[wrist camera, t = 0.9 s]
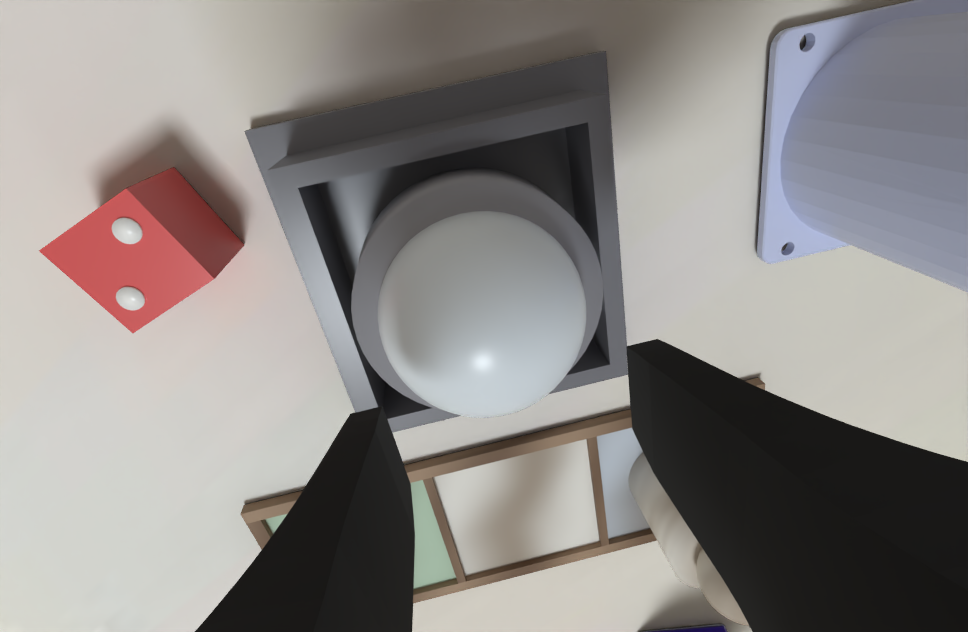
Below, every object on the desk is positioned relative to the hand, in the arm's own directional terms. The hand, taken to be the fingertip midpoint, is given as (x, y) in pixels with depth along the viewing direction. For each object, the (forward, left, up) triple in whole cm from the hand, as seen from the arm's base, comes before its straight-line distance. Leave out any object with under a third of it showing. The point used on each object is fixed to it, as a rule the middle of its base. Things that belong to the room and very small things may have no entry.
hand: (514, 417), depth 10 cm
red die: (+9, -3, -9) cm, 13 cm away
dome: (0, 0, -7) cm, 7 cm away
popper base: (0, 0, -9) cm, 9 cm away
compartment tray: (0, +13, -9) cm, 16 cm away
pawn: (-7, +13, -9) cm, 18 cm away
